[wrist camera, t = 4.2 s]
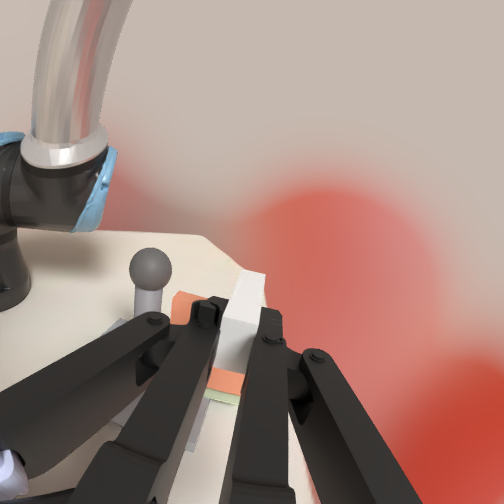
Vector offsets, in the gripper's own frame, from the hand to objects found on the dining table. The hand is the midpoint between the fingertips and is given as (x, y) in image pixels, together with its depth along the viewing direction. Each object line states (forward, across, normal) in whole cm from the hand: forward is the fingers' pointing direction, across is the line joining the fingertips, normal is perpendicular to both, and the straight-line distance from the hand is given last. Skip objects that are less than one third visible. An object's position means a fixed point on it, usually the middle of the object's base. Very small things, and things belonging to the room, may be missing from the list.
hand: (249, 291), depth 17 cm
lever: (+3, -4, -12) cm, 13 cm away
